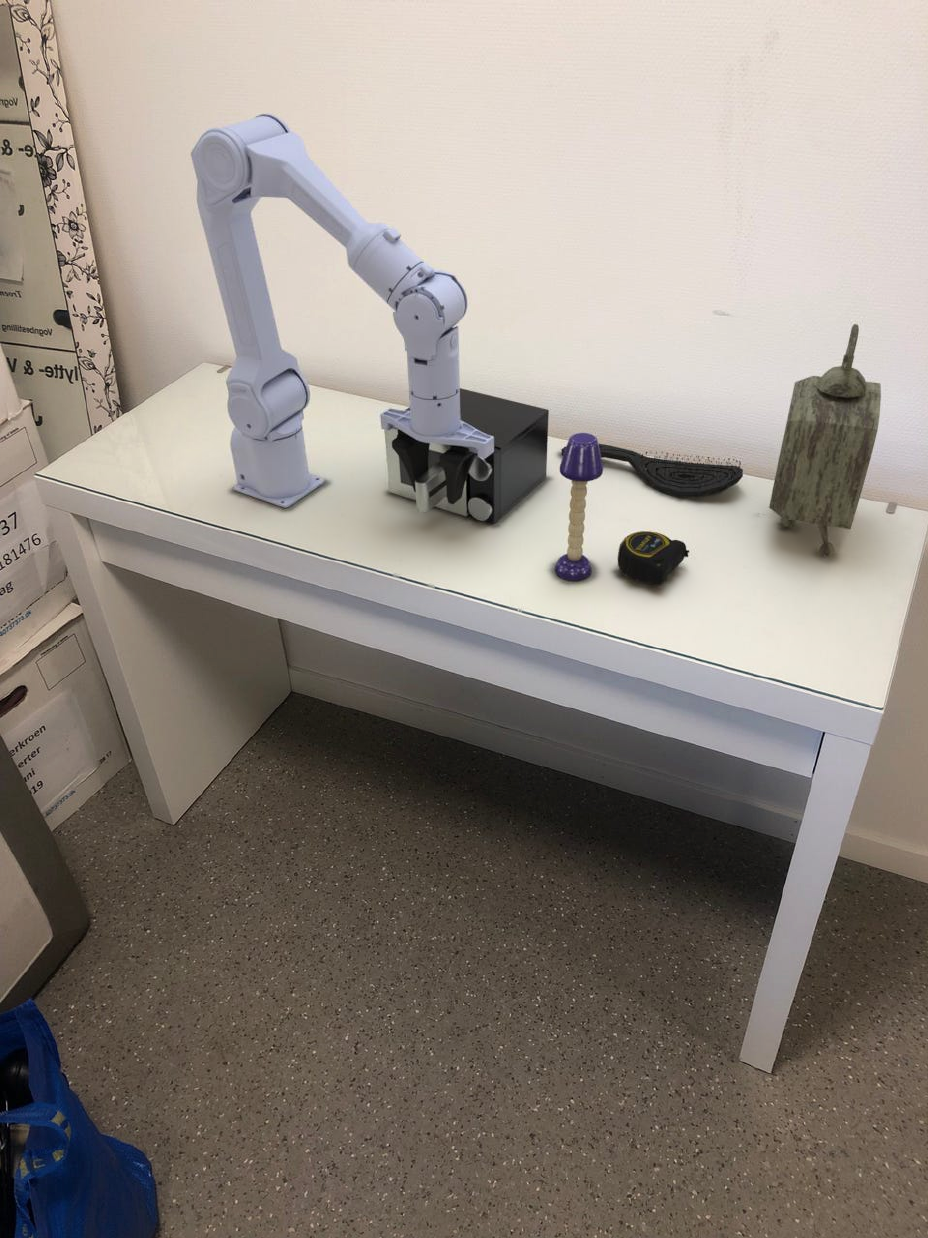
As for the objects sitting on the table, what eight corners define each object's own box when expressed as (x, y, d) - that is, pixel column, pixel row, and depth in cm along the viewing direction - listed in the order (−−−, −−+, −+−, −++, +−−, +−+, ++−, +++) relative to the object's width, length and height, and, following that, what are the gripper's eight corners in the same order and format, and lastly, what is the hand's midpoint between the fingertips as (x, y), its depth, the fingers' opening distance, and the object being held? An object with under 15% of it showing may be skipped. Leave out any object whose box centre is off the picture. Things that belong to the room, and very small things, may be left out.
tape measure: (659, 596, 102) (663, 568, 100) (605, 575, 105) (607, 548, 103) (687, 567, 106) (691, 540, 104) (634, 548, 109) (637, 522, 107)
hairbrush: (575, 422, 130) (752, 453, 119) (575, 446, 132) (748, 478, 121) (549, 447, 124) (732, 481, 113) (550, 471, 126) (729, 507, 116)
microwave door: (441, 538, 112) (437, 467, 106) (362, 512, 117) (355, 443, 111) (473, 511, 117) (472, 441, 111) (396, 487, 122) (391, 419, 116)
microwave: (490, 528, 114) (490, 455, 108) (386, 495, 121) (380, 425, 115) (546, 478, 123) (548, 409, 117) (447, 450, 130) (444, 383, 124)
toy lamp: (553, 557, 108) (559, 428, 98) (593, 557, 108) (603, 427, 98) (555, 581, 105) (562, 449, 94) (596, 581, 104) (607, 448, 94)
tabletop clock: (840, 567, 105) (898, 357, 90) (759, 553, 108) (802, 347, 93) (845, 505, 116) (898, 308, 101) (771, 494, 119) (811, 300, 103)
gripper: (508, 389, 102) (506, 495, 111) (402, 363, 108) (408, 465, 117) (474, 413, 97) (475, 522, 106) (366, 385, 104) (375, 489, 112)
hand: (438, 494), depth 111 cm, fingers open, 4 cm apart
